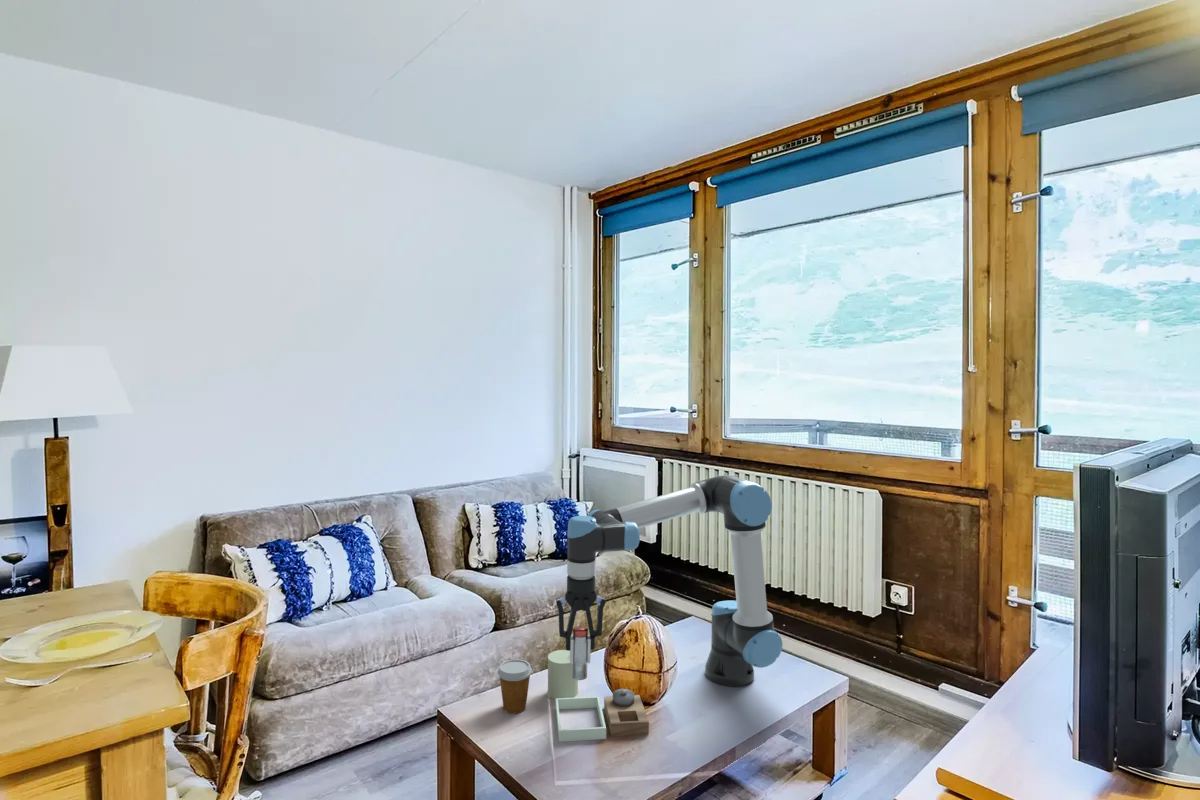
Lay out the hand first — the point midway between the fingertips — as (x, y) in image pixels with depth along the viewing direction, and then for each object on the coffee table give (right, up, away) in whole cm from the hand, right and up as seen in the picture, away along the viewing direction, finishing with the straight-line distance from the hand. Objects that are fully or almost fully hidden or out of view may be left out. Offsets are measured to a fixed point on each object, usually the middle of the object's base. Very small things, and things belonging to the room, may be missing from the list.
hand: (579, 661), depth 173 cm
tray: (0, -18, +1) cm, 18 cm away
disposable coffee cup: (-19, -17, +10) cm, 27 cm away
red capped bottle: (0, -4, 0) cm, 4 cm away
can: (-6, -17, +17) cm, 25 cm away
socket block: (+12, -18, +2) cm, 22 cm away
